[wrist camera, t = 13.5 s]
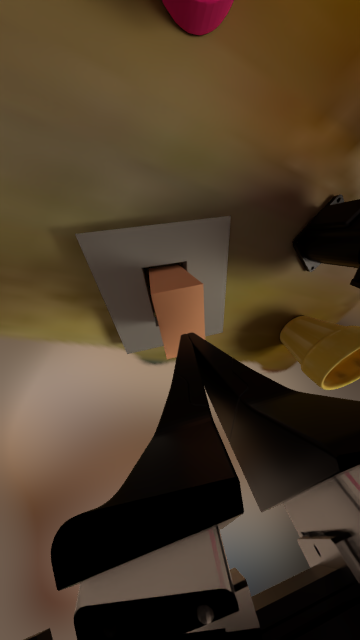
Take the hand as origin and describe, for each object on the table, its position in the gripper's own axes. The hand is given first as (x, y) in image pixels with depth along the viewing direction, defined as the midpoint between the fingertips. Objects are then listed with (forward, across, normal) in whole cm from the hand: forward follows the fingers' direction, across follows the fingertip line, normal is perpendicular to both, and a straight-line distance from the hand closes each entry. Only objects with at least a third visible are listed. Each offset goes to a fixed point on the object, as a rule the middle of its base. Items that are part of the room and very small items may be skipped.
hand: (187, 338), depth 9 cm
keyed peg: (+10, 0, 0) cm, 10 cm away
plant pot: (+11, -24, +13) cm, 29 cm away
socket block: (+10, 0, 0) cm, 10 cm away
